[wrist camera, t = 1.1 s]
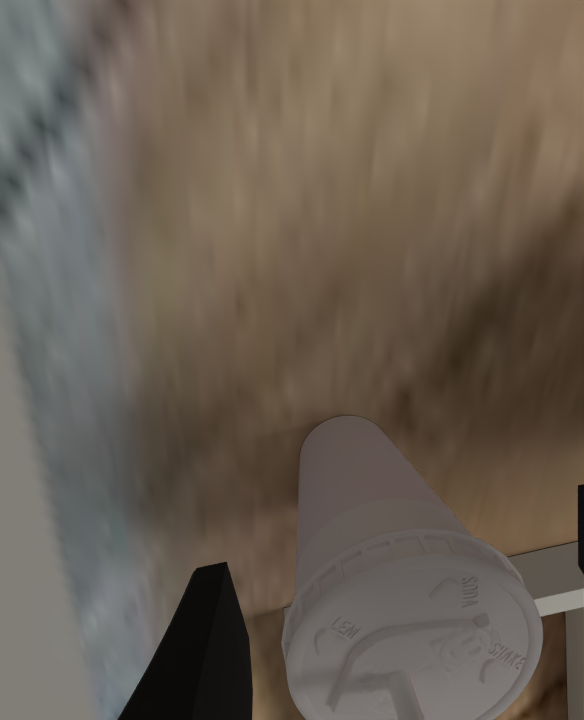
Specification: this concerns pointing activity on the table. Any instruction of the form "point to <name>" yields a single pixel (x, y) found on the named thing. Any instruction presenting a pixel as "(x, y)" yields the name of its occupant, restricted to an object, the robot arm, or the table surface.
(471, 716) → the smoothie
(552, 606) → the white shallow square frame
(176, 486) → the table surface
